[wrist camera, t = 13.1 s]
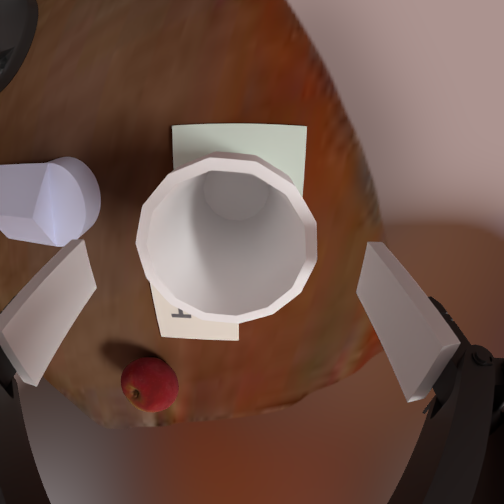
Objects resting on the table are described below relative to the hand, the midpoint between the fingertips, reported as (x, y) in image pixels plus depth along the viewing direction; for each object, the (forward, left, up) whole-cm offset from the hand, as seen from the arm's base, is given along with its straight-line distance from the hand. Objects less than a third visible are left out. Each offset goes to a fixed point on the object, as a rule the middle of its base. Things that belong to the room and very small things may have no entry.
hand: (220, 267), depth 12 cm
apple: (+25, -12, -16) cm, 32 cm away
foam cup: (0, 0, -15) cm, 15 cm away
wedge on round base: (0, -21, -16) cm, 26 cm away
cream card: (+14, -5, -16) cm, 22 cm away
